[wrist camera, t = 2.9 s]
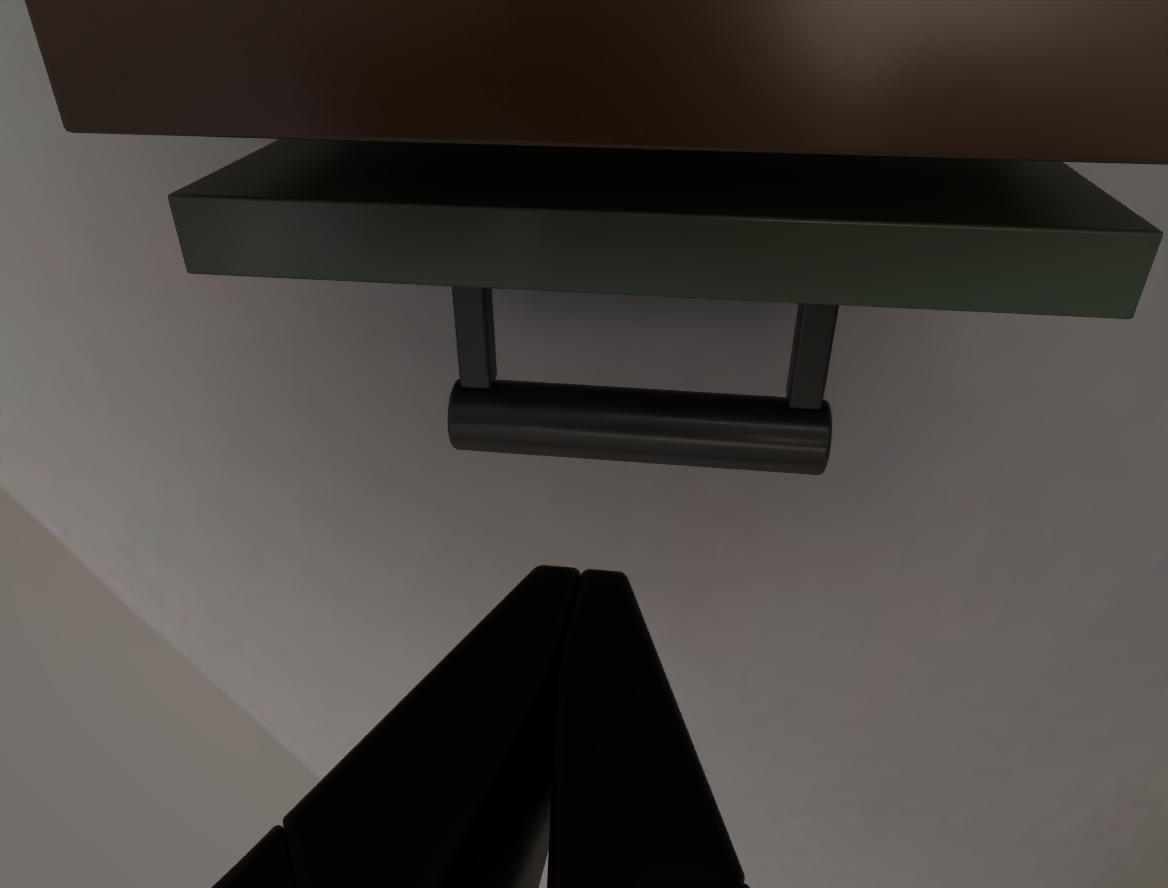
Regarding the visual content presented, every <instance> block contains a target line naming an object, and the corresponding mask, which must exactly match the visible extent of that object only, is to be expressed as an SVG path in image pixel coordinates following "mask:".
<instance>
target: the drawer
mask: <svg viewBox="0 0 1168 888" xmlns="http://www.w3.org/2000/svg"><path fill="white" fill-rule="evenodd" d="M168 200H169V204H170V207H171V211H172V215H173V219H174V223H175V227H176V231H177V234H178V238H179V242H180V246H181V250H182V254H183V258H184V262H185V265H186V269H187V272H188V273H191V274H211V275H232V276H252V277H273V278H294V279H314V280H335V281H355V282H376V283H397V284H417V285H438V286H452V296H453V307H454V318H455V330H456V341H457V353H458V364H459V375H460V378H459V379H457V380H456V382H455V383H454V385H453V388H452V391H451V394H450V399H449V405H448V433H449V438H450V442H451V444H452V446H453V447H454V448H456V449H458V450H471V451H485V452H499V453H513V454H527V455H542V456H556V457H570V458H584V459H598V460H612V461H626V462H641V463H655V464H669V465H683V466H697V467H711V468H725V469H740V470H754V471H768V472H782V473H796V474H810V475H820V474H823V472H824V471H825V469H826V466H827V463H828V459H829V454H830V447H831V437H832V415H831V409H830V405H829V403H828V401H826V400H823V397H824V391H825V385H826V379H827V373H828V367H829V361H830V356H831V350H832V344H833V338H834V332H835V326H836V320H837V314H838V308H839V305H850V306H871V307H891V308H912V309H932V310H953V311H974V312H994V313H1015V314H1035V315H1056V316H1077V317H1097V318H1118V319H1131V318H1132V317H1133V316H1134V313H1135V310H1136V307H1137V305H1138V302H1139V299H1140V296H1141V294H1142V291H1143V288H1144V286H1145V283H1146V280H1147V277H1148V275H1149V272H1150V269H1151V266H1152V264H1153V261H1154V258H1155V255H1156V253H1157V250H1158V247H1159V245H1160V242H1161V239H1162V236H1163V232H1162V231H1160V230H1159V229H1158V228H1156V227H1155V226H1153V225H1152V224H1150V223H1149V222H1148V221H1146V220H1145V219H1143V218H1142V217H1140V216H1139V215H1137V214H1136V213H1135V212H1133V211H1132V210H1130V209H1129V208H1127V207H1126V206H1125V205H1123V204H1122V203H1120V202H1119V201H1117V200H1116V199H1115V198H1113V197H1112V196H1110V195H1109V194H1107V193H1106V192H1105V191H1103V190H1102V189H1100V188H1099V187H1097V186H1096V185H1095V184H1093V183H1092V182H1090V181H1089V180H1087V179H1086V178H1085V177H1083V176H1082V175H1080V174H1079V173H1077V172H1076V171H1075V170H1073V169H1072V168H1070V167H1069V166H1067V165H1066V164H1065V163H1063V162H1060V161H1025V160H991V159H957V158H922V157H888V156H854V155H819V154H785V153H751V152H717V151H682V150H648V149H614V148H579V147H545V146H511V145H477V144H442V143H408V142H374V141H339V140H305V139H279V140H277V141H275V142H273V143H271V144H269V145H267V146H265V147H263V148H261V149H259V150H257V151H255V152H253V153H251V154H249V155H247V156H245V157H243V158H241V159H239V160H237V161H235V162H233V163H231V164H229V165H227V166H225V167H223V168H221V169H219V170H217V171H215V172H213V173H211V174H209V175H207V176H205V177H203V178H201V179H199V180H197V181H195V182H193V183H191V184H189V185H187V186H185V187H183V188H181V189H179V190H177V191H175V192H173V193H171V194H169V195H168ZM492 288H500V289H520V290H541V291H561V292H582V293H603V294H623V295H644V296H665V297H685V298H706V299H726V300H747V301H768V302H788V303H798V310H797V317H796V324H795V331H794V338H793V345H792V352H791V359H790V367H789V374H788V381H787V388H786V396H787V397H775V396H759V395H742V394H726V393H709V392H693V391H676V390H660V389H644V388H627V387H611V386H594V385H578V384H561V383H545V382H529V381H512V380H496V379H495V378H496V376H497V367H496V351H495V334H494V318H493V302H492Z"/></svg>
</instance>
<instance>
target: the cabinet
mask: <svg viewBox="0 0 1168 888" xmlns="http://www.w3.org/2000/svg"><path fill="white" fill-rule="evenodd" d="M25 3H26V6H27V9H28V12H29V15H30V19H31V22H32V25H33V28H34V32H35V35H36V38H37V41H38V45H39V48H40V51H41V54H42V57H43V61H44V64H45V67H46V70H47V74H48V77H49V80H50V83H51V87H52V90H53V93H54V96H55V99H56V103H57V106H58V109H59V112H60V116H61V119H62V122H63V125H64V128H65V129H66V131H69V132H72V133H99V134H134V135H168V136H202V137H236V138H271V139H305V140H339V141H374V142H408V143H442V144H477V145H511V146H545V147H579V148H614V149H648V150H682V151H717V152H751V153H785V154H819V155H854V156H888V157H922V158H957V159H991V160H1025V161H1060V162H1094V163H1128V164H1162V165H1168V0H25Z"/></svg>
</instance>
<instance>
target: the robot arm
mask: <svg viewBox="0 0 1168 888" xmlns="http://www.w3.org/2000/svg"><path fill="white" fill-rule="evenodd" d="M283 826H284V828H283V827H282V826H280V825H277V826H274V827H273V828H272V829H271V830H270V831H269V832H268V833H267V834H266V835H265V836H264V837H263V838H262V839H261V840H260V841H259V842H258V843H257V844H256V845H255V846H254V847H253V848H252V849H251V850H250V851H249V852H248V853H247V854H246V855H245V856H244V857H243V858H242V859H241V860H240V861H239V862H238V863H237V864H236V865H235V866H234V867H233V868H232V869H231V870H230V871H228V873H226V874H225V875H224V876H223V877H222V878H221V879H220V880H219V881H218V882H217V883H216V884H215V885H214V886H213V887H212V888H539V884H540V880H541V877H542V873H543V869H544V865H545V861H546V857H547V854H548V850H549V856H548V879H547V888H750V887H749V886H748V885H747V884H744V880H745V877H744V873H743V870H742V868H741V865H740V862H739V860H738V857H737V855H736V852H735V850H734V847H733V845H732V842H731V840H730V837H729V834H728V832H727V829H726V827H725V824H724V822H723V819H722V817H721V814H720V812H719V809H718V806H717V804H716V801H715V799H714V796H713V794H712V791H711V789H710V786H709V784H708V781H707V778H706V776H705V773H704V771H703V768H702V766H701V763H700V761H699V758H698V756H697V753H696V750H695V748H694V745H693V743H692V740H691V738H690V735H689V733H688V730H687V728H686V725H685V722H684V720H683V717H682V715H681V712H680V710H679V707H678V705H677V702H676V700H675V697H674V694H673V692H672V689H671V687H670V684H669V682H668V679H667V677H666V674H665V672H664V669H663V666H662V664H661V661H660V659H659V656H658V654H657V651H656V649H655V646H654V644H653V641H652V638H651V636H650V633H649V631H648V628H647V626H646V623H645V621H644V618H643V616H642V613H641V611H640V608H639V605H638V603H637V600H636V598H635V595H634V593H633V590H632V588H631V585H630V583H629V580H628V578H627V576H626V575H625V574H624V573H622V572H619V571H608V570H596V569H587V570H585V571H583V573H582V574H580V572H579V570H577V569H576V568H573V567H561V566H549V565H540V566H538V567H536V568H534V569H533V570H532V571H531V572H530V573H529V574H528V575H527V576H526V577H525V578H524V579H523V580H522V581H521V582H520V583H519V584H518V585H517V586H516V587H515V588H514V589H513V590H512V591H511V592H510V593H509V594H508V595H507V596H506V597H505V598H504V599H503V600H502V601H501V602H500V603H499V604H498V605H497V606H496V607H495V608H494V609H493V610H492V611H491V612H490V613H489V614H488V615H487V616H486V617H485V618H484V619H483V620H482V621H481V622H480V623H479V624H478V625H477V626H476V627H475V628H474V629H473V630H472V631H471V632H470V633H469V634H468V635H467V636H466V637H465V638H464V639H463V640H462V641H461V642H460V643H459V644H458V645H457V646H456V647H455V648H454V649H453V650H452V651H451V652H450V653H449V654H448V655H447V656H446V657H445V658H444V659H443V660H442V661H441V662H440V663H439V664H438V665H437V666H436V667H435V668H434V669H433V670H432V671H431V672H429V673H428V674H427V675H426V676H425V677H424V678H423V679H422V680H421V681H420V682H419V683H418V684H417V685H416V686H415V687H414V688H413V689H412V690H411V691H410V692H409V693H408V694H407V695H406V696H405V697H404V698H403V699H402V700H401V701H400V702H399V703H398V704H397V705H396V706H395V707H394V708H393V709H392V710H391V711H390V712H389V713H388V714H387V715H386V716H385V717H384V718H383V719H382V720H381V721H380V722H379V723H378V724H377V725H376V726H375V727H374V728H373V729H372V730H371V731H370V732H369V733H368V734H367V735H366V736H365V737H364V738H363V739H362V740H361V741H360V742H359V743H358V744H357V745H356V746H355V747H354V748H353V749H352V750H351V751H350V752H349V753H348V754H347V755H346V756H345V757H344V758H343V759H342V760H341V761H340V762H339V763H338V764H337V765H336V766H335V767H334V768H333V769H332V770H331V771H330V772H329V773H328V774H327V775H326V776H325V777H324V778H323V779H322V780H321V781H320V782H319V783H318V784H317V785H316V786H315V787H314V788H313V789H312V790H311V791H310V792H309V793H308V794H307V795H306V796H305V797H304V798H303V799H302V800H301V801H300V802H299V803H298V804H297V805H296V806H295V807H294V808H293V809H292V810H291V811H290V812H289V813H288V814H287V815H286V816H285V817H284V819H283Z"/></svg>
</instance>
